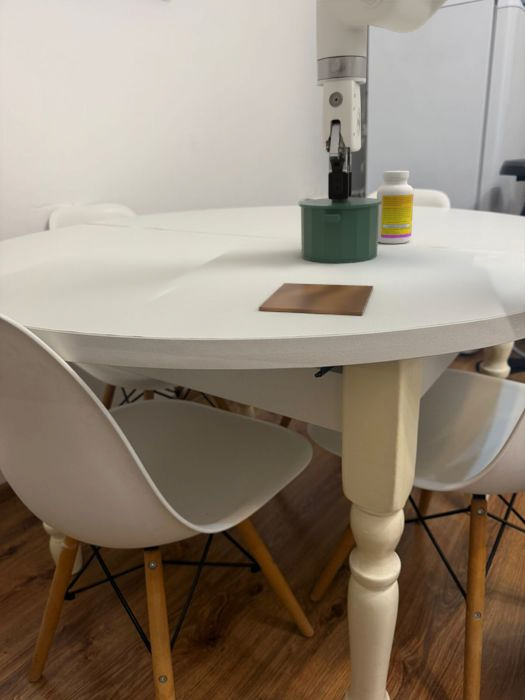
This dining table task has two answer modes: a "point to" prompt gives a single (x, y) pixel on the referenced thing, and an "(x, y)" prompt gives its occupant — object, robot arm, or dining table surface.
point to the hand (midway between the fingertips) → (340, 197)
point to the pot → (339, 234)
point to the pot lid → (340, 202)
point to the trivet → (319, 299)
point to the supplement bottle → (395, 208)
